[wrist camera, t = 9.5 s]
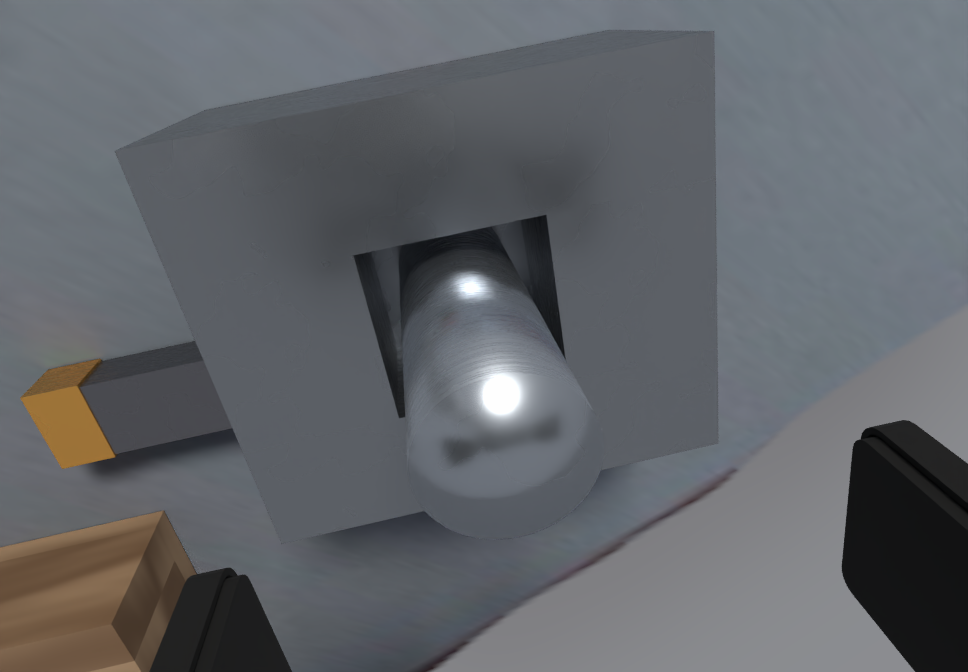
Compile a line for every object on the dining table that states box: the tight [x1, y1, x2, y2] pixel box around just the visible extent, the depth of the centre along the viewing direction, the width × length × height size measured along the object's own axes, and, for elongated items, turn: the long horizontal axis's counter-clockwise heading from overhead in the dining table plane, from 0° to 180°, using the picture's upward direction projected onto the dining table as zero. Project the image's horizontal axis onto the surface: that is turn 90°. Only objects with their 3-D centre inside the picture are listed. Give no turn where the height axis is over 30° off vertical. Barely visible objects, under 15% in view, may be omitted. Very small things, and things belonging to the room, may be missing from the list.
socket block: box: [115, 30, 718, 544], centre depth 21 cm, size 12×14×8 cm
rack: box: [0, 511, 197, 672], centre depth 27 cm, size 9×9×6 cm
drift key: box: [21, 341, 232, 469], centre depth 25 cm, size 3×16×2 cm, turn 100°
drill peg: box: [399, 227, 604, 540], centre depth 17 cm, size 4×4×11 cm
